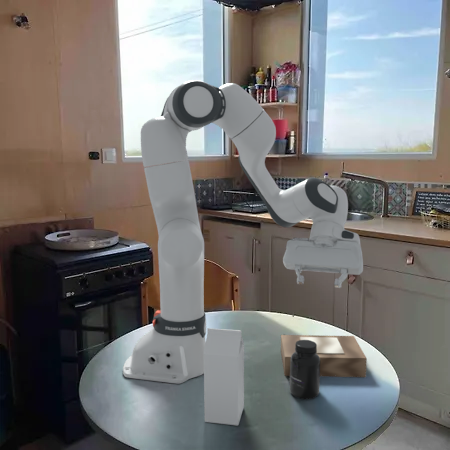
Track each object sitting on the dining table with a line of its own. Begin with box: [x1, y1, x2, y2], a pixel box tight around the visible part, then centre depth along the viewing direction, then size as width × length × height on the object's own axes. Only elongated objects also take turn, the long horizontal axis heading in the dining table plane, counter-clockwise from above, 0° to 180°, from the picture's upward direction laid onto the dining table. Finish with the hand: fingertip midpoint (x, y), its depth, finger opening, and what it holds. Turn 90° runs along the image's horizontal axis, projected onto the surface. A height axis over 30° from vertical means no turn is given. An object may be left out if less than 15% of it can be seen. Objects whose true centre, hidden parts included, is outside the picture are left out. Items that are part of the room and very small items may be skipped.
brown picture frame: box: [280, 334, 368, 378], centre depth 120 cm, size 20×14×5 cm
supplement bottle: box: [289, 340, 321, 400], centre depth 105 cm, size 7×7×12 cm
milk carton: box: [203, 327, 245, 426], centre depth 95 cm, size 7×7×19 cm
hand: (318, 284), depth 114 cm, fingers open, 8 cm apart
